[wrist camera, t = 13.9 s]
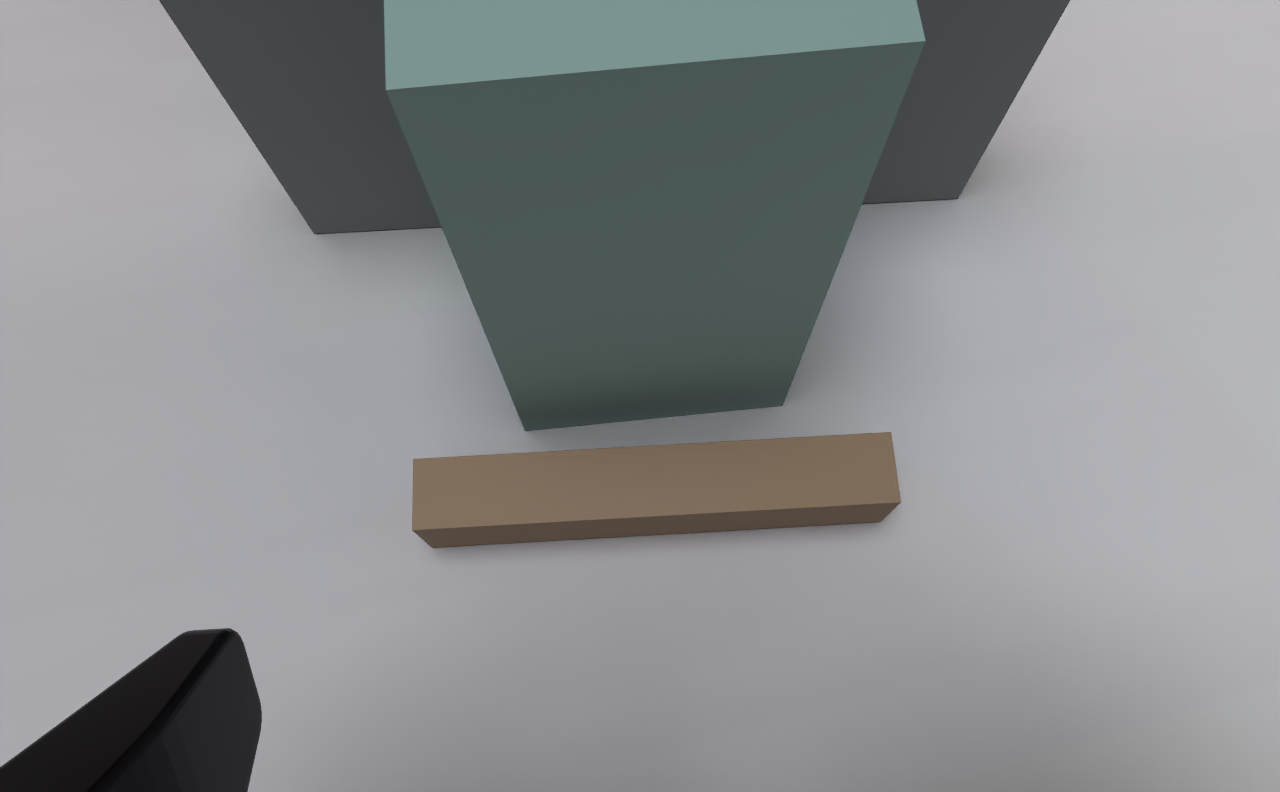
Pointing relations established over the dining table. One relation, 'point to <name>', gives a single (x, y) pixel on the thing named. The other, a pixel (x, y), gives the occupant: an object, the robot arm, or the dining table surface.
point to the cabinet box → (647, 183)
